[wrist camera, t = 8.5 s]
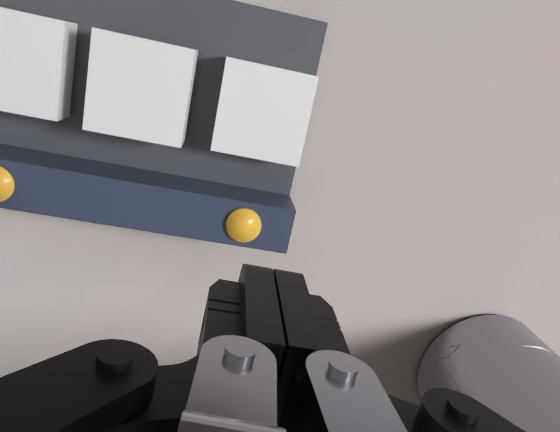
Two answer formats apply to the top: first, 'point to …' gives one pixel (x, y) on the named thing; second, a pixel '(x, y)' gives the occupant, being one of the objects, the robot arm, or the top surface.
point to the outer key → (36, 64)
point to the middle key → (138, 88)
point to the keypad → (155, 157)
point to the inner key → (263, 112)
